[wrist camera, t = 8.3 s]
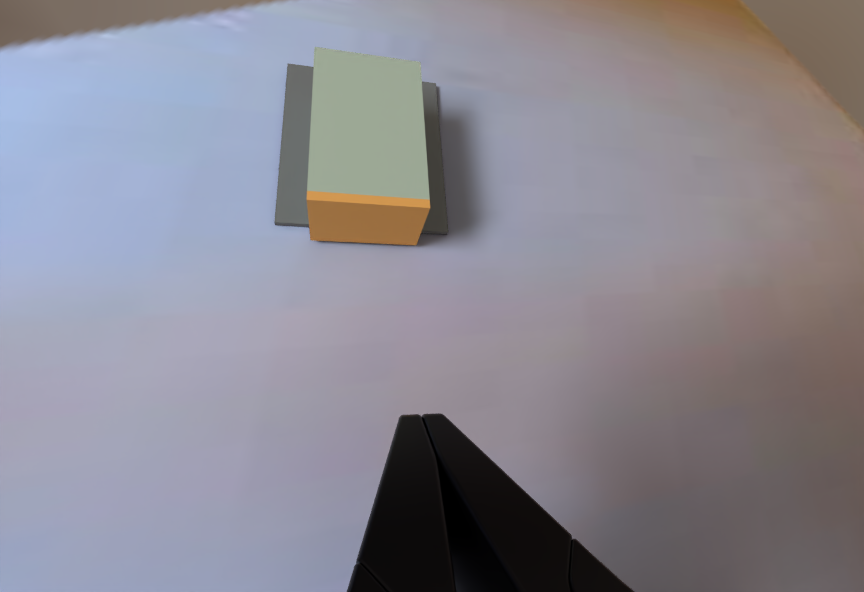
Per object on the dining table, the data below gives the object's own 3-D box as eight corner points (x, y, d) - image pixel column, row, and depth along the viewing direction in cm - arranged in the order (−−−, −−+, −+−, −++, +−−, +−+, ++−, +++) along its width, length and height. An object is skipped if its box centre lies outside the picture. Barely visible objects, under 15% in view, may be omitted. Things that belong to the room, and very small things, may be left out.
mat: (446, 234, 26) (448, 231, 26) (275, 225, 24) (274, 222, 24) (434, 86, 30) (435, 83, 30) (288, 67, 28) (287, 63, 28)
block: (430, 207, 21) (420, 62, 25) (306, 199, 20) (314, 46, 24) (416, 245, 25) (409, 113, 29) (310, 240, 24) (317, 102, 27)
